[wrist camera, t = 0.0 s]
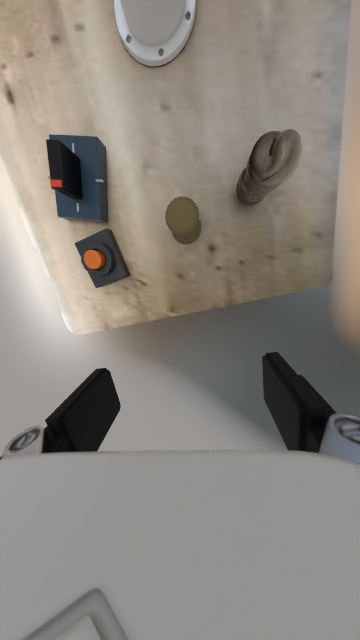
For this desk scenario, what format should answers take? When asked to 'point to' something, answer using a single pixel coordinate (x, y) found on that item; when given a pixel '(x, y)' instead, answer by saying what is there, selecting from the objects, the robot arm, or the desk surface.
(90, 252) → the button
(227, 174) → the desk surface
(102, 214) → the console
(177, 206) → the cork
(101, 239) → the button box
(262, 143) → the brown ridged cylinder
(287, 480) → the robot arm
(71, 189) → the black box red end
